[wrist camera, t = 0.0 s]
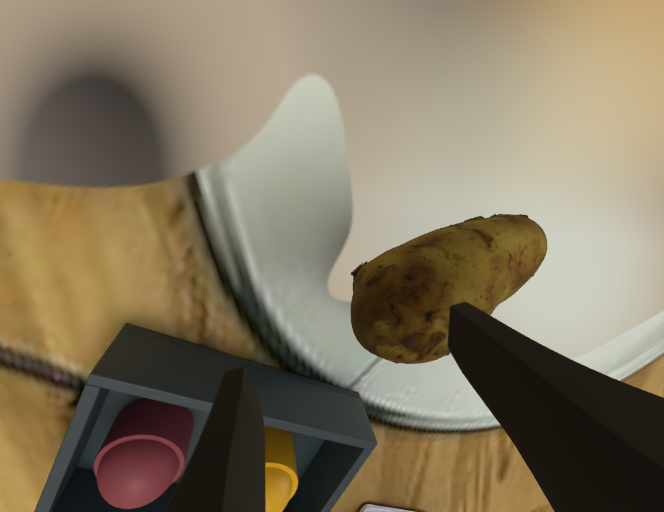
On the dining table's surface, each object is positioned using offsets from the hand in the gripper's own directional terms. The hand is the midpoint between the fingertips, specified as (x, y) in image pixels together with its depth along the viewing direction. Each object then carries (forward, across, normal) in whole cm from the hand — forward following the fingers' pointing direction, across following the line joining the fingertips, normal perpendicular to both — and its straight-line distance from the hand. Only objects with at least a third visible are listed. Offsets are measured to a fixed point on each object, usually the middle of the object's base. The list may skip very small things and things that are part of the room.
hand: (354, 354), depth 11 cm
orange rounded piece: (+8, +7, +15) cm, 19 cm away
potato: (+10, -8, +4) cm, 13 cm away
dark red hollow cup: (+8, +13, +11) cm, 19 cm away
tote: (+8, +10, +14) cm, 19 cm away
